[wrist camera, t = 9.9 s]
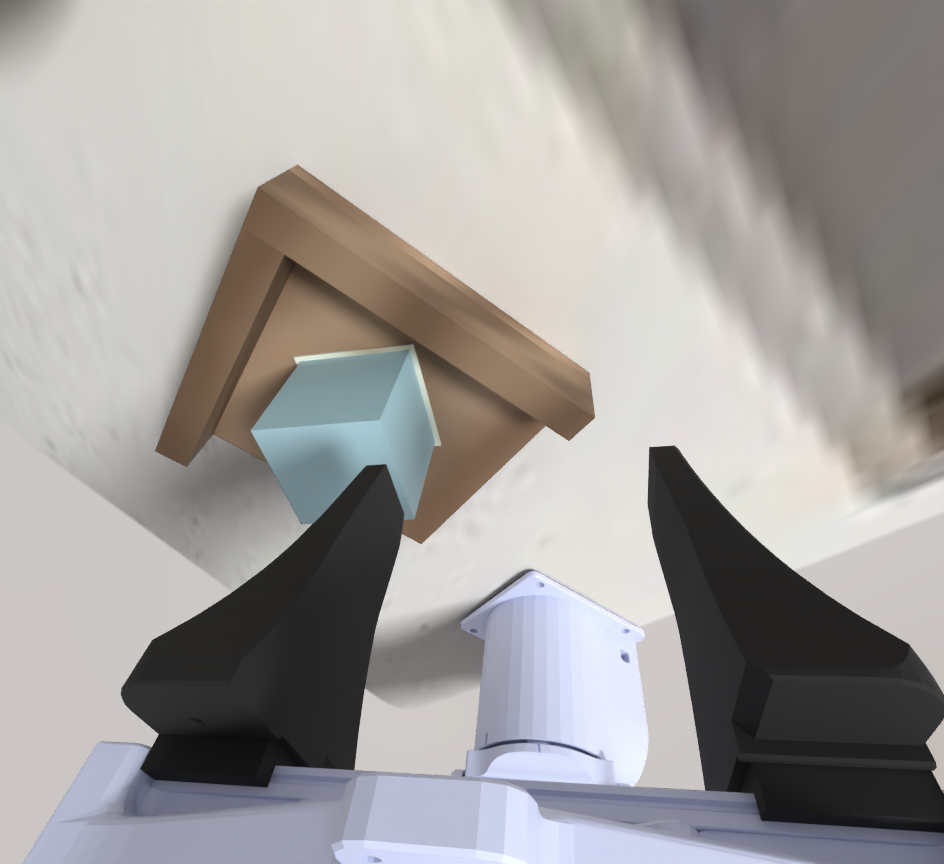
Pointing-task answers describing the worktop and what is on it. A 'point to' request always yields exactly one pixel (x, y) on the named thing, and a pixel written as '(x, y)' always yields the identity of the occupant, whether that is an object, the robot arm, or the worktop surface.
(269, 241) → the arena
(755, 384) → the worktop surface
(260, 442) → the cube
